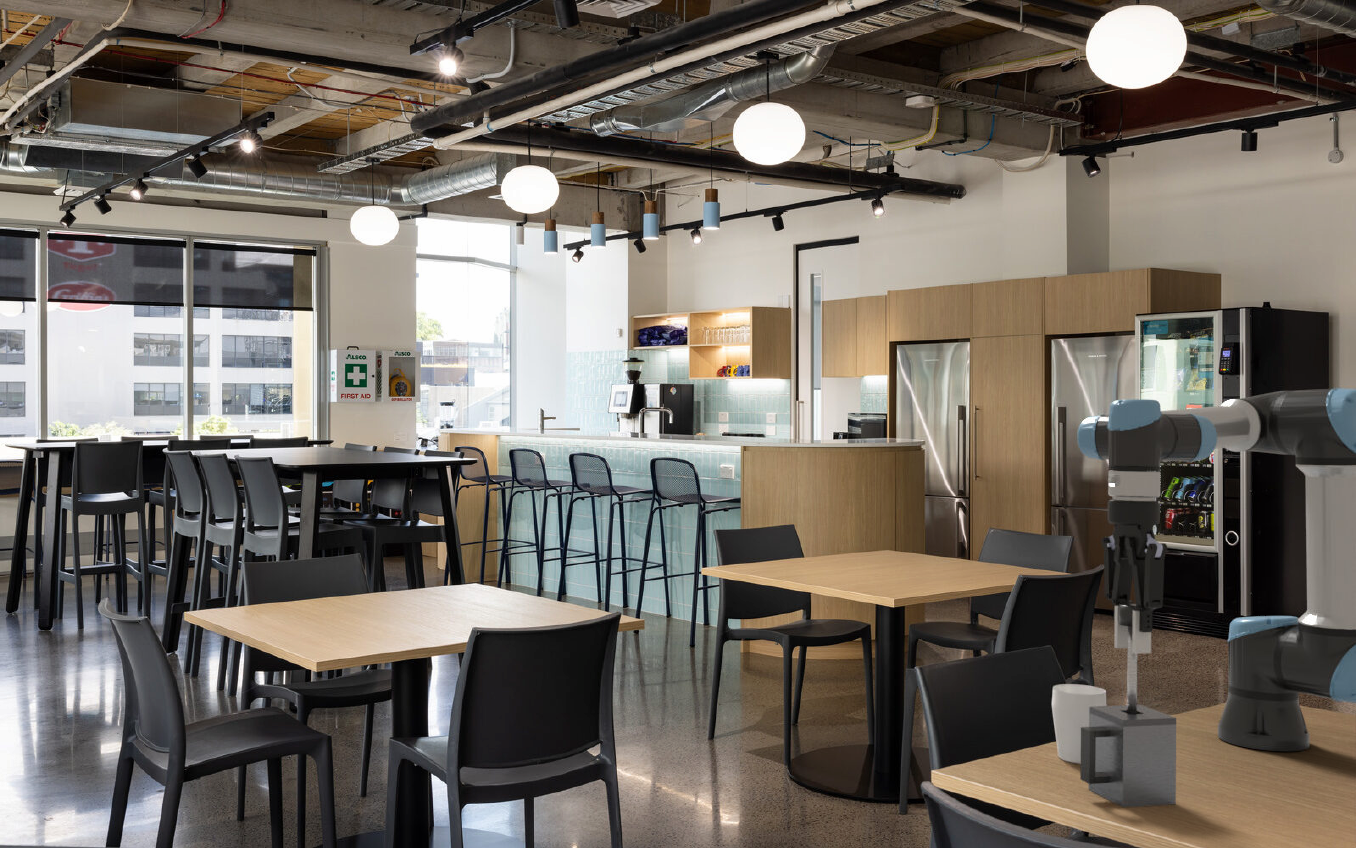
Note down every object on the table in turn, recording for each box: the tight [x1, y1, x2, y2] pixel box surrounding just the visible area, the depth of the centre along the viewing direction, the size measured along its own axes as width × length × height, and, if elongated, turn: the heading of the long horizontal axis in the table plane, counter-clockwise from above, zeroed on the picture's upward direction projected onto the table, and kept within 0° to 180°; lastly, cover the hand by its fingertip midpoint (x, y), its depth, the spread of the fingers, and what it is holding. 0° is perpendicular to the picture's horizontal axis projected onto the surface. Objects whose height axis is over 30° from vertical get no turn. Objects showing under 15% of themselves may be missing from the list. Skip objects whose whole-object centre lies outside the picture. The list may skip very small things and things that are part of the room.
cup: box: [1051, 683, 1108, 765], centre depth 199 cm, size 9×9×12 cm
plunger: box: [1119, 603, 1138, 714], centre depth 178 cm, size 6×6×20 cm
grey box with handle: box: [1080, 704, 1177, 808], centre depth 177 cm, size 12×9×13 cm
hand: (1132, 650), depth 178 cm, fingers closed on plunger, 4 cm apart
